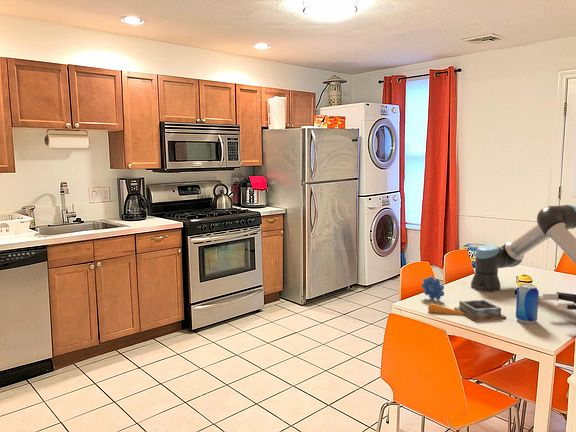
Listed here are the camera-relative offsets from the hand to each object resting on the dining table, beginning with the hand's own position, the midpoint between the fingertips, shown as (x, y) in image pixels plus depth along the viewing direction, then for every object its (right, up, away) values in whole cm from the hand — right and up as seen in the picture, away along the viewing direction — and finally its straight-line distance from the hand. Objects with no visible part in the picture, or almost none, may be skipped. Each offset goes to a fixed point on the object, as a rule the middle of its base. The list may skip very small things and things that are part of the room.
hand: (550, 301), depth 197 cm
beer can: (-10, -9, +2) cm, 14 cm away
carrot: (-40, -9, +12) cm, 43 cm away
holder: (-27, -8, +11) cm, 30 cm away
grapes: (-42, -6, +32) cm, 53 cm away
